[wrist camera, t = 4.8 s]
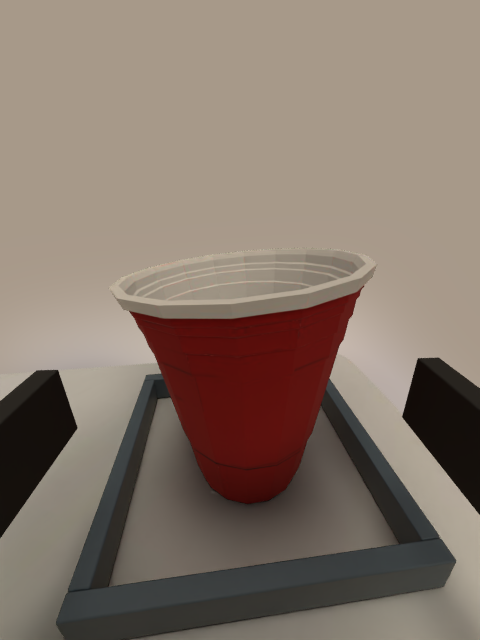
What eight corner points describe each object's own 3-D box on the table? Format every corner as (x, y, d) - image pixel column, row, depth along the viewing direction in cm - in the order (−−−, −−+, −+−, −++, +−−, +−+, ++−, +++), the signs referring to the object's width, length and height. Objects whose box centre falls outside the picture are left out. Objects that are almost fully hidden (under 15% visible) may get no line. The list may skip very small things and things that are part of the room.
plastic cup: (213, 384, 23) (201, 239, 19) (347, 421, 19) (377, 244, 14) (108, 501, 14) (34, 275, 10) (320, 623, 10) (376, 318, 5)
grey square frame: (444, 587, 11) (539, 399, 7) (69, 648, 9) (-46, 458, 6) (315, 378, 24) (325, 274, 20) (149, 393, 22) (128, 284, 19)
